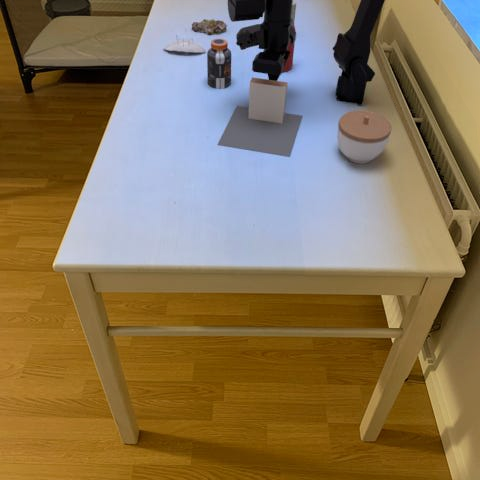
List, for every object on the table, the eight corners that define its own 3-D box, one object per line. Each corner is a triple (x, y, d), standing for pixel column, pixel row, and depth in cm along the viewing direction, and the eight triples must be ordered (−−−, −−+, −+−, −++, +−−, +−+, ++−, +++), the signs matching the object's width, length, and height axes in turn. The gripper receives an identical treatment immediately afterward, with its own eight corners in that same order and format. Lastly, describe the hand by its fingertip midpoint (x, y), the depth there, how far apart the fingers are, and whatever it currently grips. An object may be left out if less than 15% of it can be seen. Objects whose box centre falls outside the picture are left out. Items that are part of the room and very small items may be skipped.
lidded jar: (343, 172, 105) (351, 133, 99) (326, 143, 113) (333, 105, 106) (391, 167, 107) (402, 128, 100) (372, 138, 114) (381, 101, 108)
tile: (284, 118, 119) (287, 82, 112) (282, 123, 117) (285, 87, 110) (250, 113, 120) (252, 77, 113) (248, 118, 118) (249, 82, 112)
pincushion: (161, 55, 142) (159, 35, 138) (165, 45, 146) (164, 26, 142) (204, 58, 141) (203, 38, 137) (207, 48, 145) (206, 28, 141)
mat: (302, 117, 120) (302, 115, 119) (289, 158, 108) (290, 156, 108) (236, 107, 122) (236, 105, 122) (217, 146, 111) (217, 144, 110)
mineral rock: (227, 17, 156) (226, 20, 149) (228, 32, 158) (226, 36, 151) (192, 17, 156) (189, 20, 149) (193, 32, 158) (190, 36, 151)
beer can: (292, 62, 140) (296, 18, 131) (291, 73, 135) (296, 28, 127) (268, 60, 140) (271, 16, 132) (266, 72, 135) (269, 26, 127)
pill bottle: (228, 92, 128) (228, 48, 120) (205, 89, 128) (203, 45, 120) (233, 80, 132) (233, 37, 124) (210, 78, 132) (210, 34, 124)
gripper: (250, -4, 115) (248, 62, 126) (229, 29, 102) (228, 99, 113) (299, 2, 113) (292, 68, 124) (283, 36, 100) (277, 107, 111)
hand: (272, 85), depth 118 cm, fingers closed
